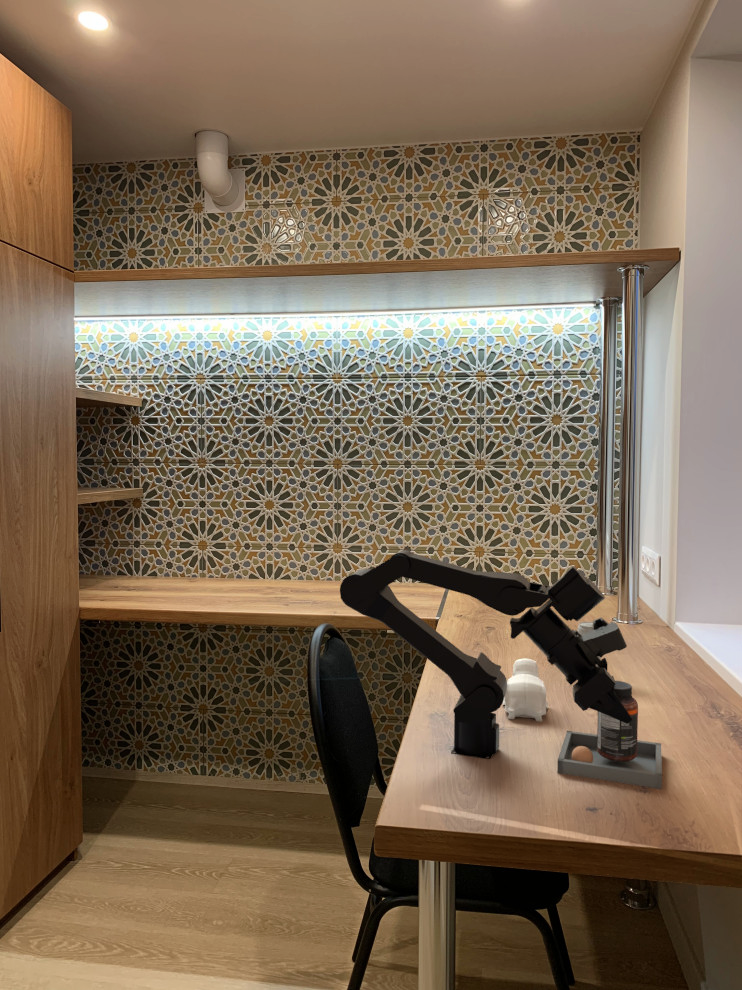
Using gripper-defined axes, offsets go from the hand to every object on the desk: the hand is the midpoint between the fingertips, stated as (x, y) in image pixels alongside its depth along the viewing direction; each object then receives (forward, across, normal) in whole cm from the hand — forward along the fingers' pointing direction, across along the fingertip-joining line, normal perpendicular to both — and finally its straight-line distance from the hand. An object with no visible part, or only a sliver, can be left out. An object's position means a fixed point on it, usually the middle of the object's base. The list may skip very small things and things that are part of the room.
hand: (627, 714), depth 113 cm
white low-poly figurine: (-4, +22, +17) cm, 28 cm away
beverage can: (+5, +45, +7) cm, 46 cm away
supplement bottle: (+4, 0, +6) cm, 7 cm away
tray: (+4, -1, +8) cm, 9 cm away
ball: (+1, -3, +10) cm, 11 cm away
